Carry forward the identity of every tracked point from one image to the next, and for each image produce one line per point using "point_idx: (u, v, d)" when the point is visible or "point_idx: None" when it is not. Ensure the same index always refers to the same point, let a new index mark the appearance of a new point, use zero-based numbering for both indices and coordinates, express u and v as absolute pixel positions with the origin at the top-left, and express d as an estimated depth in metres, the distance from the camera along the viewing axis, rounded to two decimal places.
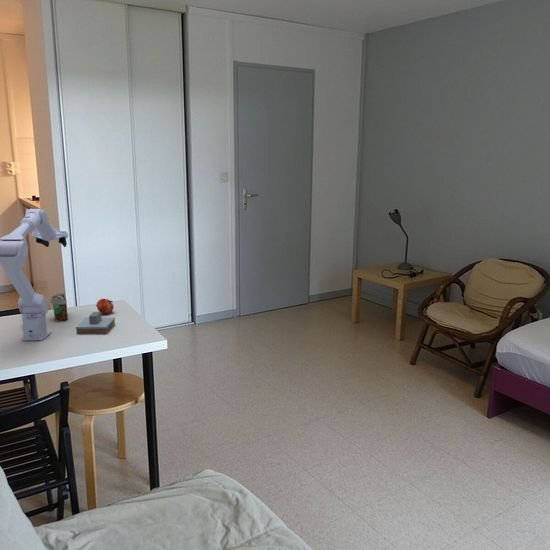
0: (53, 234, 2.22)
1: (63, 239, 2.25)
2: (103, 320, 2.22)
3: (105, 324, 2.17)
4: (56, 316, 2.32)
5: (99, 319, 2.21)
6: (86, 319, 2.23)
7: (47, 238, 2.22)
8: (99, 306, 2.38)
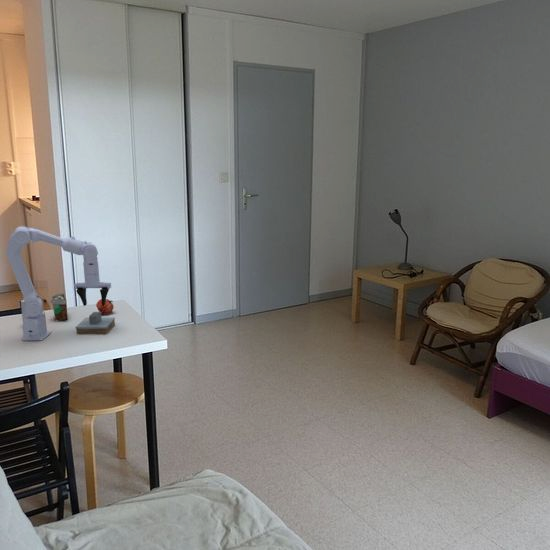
0: (97, 280, 2.15)
1: (105, 289, 2.16)
2: (103, 320, 2.22)
3: (105, 324, 2.17)
4: (56, 316, 2.32)
5: (99, 319, 2.21)
6: (86, 319, 2.23)
7: (90, 283, 2.13)
8: (99, 306, 2.38)
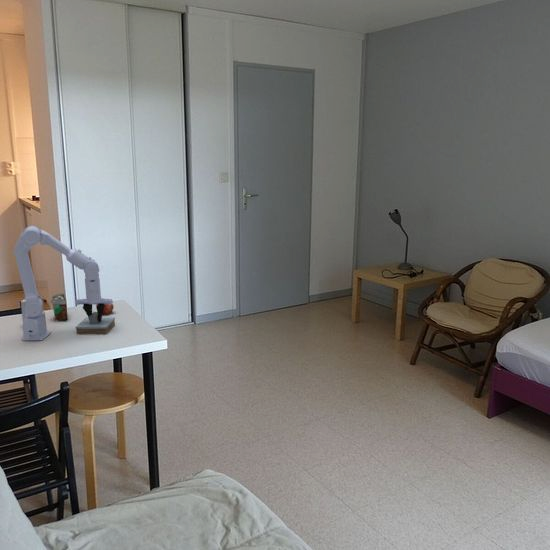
0: (99, 297, 2.16)
1: (101, 305, 2.17)
2: (103, 320, 2.22)
3: (105, 324, 2.17)
4: (56, 316, 2.32)
5: None
6: (86, 319, 2.23)
7: (91, 299, 2.15)
8: None
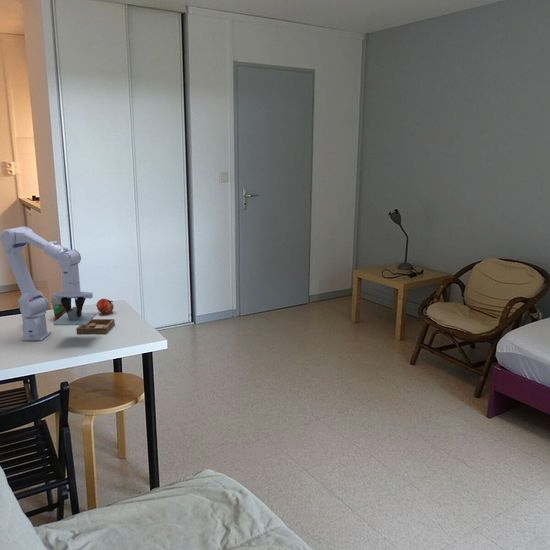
0: (78, 290, 2.01)
1: (81, 299, 2.01)
2: (83, 316, 2.07)
3: (85, 321, 2.02)
4: (56, 316, 2.32)
5: None
6: (65, 315, 2.08)
7: (70, 292, 1.99)
8: (99, 306, 2.38)
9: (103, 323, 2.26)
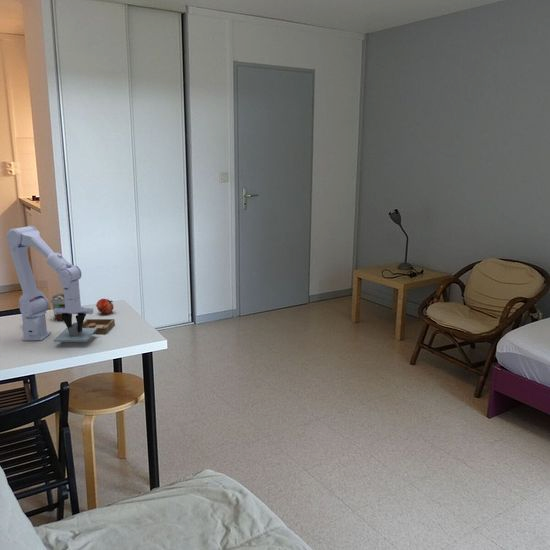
0: (78, 306, 2.02)
1: (81, 315, 2.02)
2: (84, 331, 2.08)
3: (86, 337, 2.02)
4: (56, 316, 2.32)
5: None
6: (66, 330, 2.09)
7: (70, 308, 2.00)
8: (99, 306, 2.38)
9: (103, 323, 2.26)
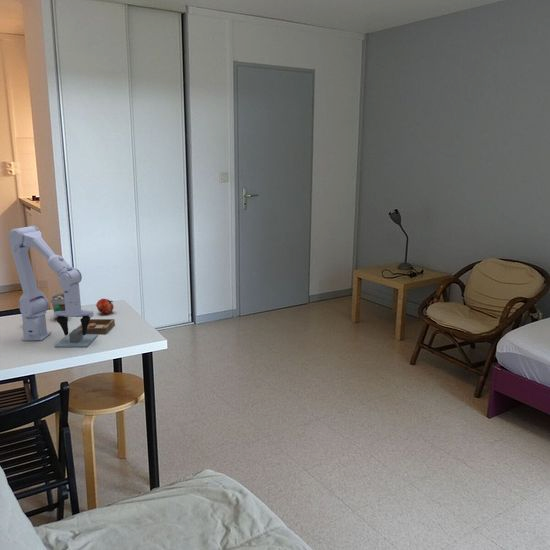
0: (78, 309, 2.02)
1: (86, 318, 2.02)
2: (85, 338, 2.08)
3: (86, 343, 2.03)
4: None
5: (80, 336, 2.07)
6: (67, 336, 2.10)
7: (71, 311, 2.00)
8: (99, 306, 2.38)
9: (103, 323, 2.26)
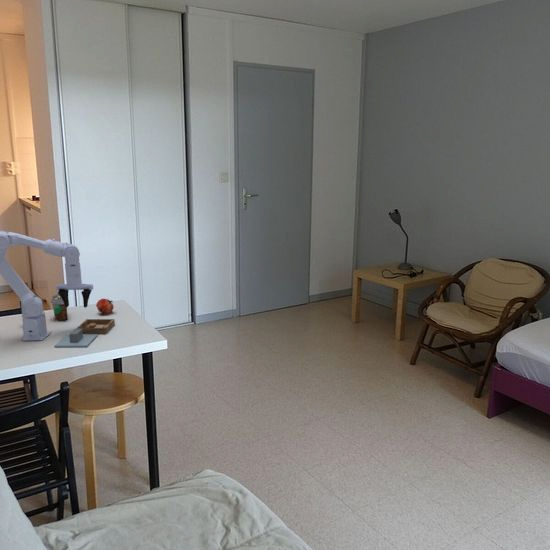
0: (79, 282, 2.13)
1: (87, 291, 2.13)
2: (85, 338, 2.08)
3: (86, 343, 2.03)
4: (56, 316, 2.32)
5: (80, 336, 2.07)
6: (67, 336, 2.10)
7: (72, 284, 2.11)
8: (99, 306, 2.38)
9: (103, 323, 2.26)
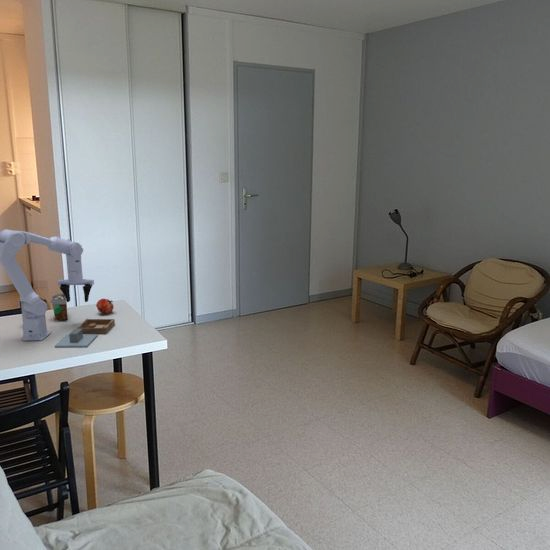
0: (80, 277, 2.21)
1: (88, 286, 2.21)
2: (85, 338, 2.08)
3: (86, 343, 2.03)
4: (56, 316, 2.32)
5: (80, 336, 2.07)
6: (67, 336, 2.10)
7: (73, 279, 2.19)
8: (99, 306, 2.38)
9: (103, 323, 2.26)
